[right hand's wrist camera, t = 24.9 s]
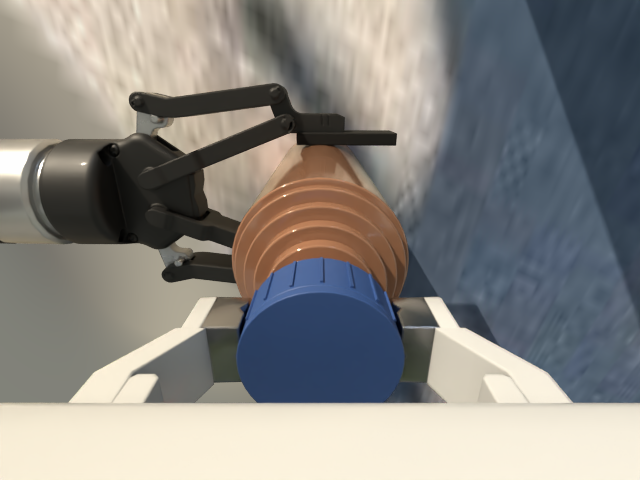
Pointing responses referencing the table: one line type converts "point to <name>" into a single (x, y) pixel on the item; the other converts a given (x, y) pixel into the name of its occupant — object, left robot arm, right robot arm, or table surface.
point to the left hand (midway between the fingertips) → (387, 193)
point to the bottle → (320, 221)
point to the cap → (320, 337)
